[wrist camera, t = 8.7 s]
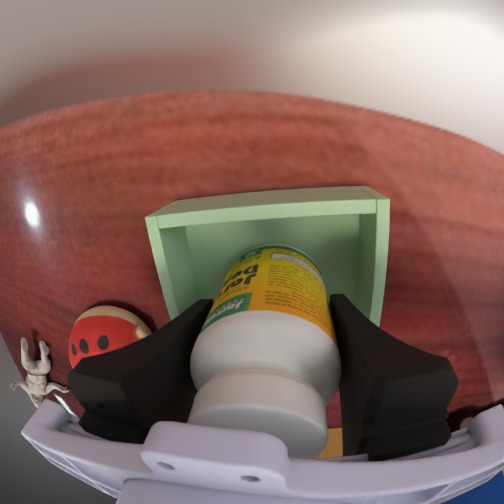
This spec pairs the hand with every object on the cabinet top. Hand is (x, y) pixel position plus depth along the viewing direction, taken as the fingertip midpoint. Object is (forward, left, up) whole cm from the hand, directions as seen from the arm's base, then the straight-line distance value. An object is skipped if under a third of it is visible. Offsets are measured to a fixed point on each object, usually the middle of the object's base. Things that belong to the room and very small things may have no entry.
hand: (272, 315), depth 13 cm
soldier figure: (+28, +11, -4) cm, 30 cm away
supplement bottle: (0, 0, -3) cm, 3 cm away
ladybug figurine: (+13, +5, -4) cm, 14 cm away
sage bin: (0, 0, -3) cm, 3 cm away
